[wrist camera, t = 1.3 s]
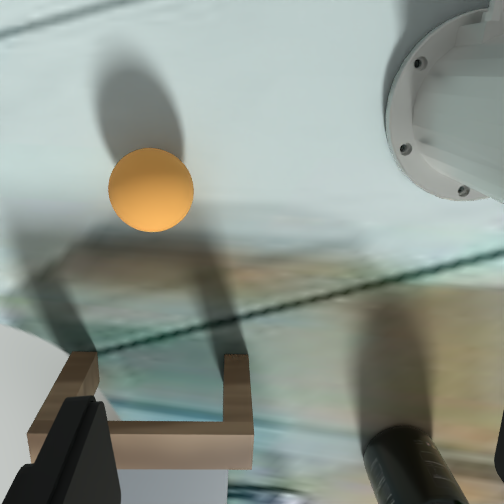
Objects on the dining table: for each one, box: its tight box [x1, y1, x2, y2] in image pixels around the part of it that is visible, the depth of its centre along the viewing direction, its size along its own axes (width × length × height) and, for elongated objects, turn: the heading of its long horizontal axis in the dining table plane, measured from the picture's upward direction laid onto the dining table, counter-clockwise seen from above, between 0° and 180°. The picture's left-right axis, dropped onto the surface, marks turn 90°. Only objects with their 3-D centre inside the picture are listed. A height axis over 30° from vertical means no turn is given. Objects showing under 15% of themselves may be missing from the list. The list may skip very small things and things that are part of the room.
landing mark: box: [117, 469, 228, 504], centre depth 44 cm, size 12×12×1 cm
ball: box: [108, 148, 194, 232], centre depth 30 cm, size 6×6×6 cm
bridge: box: [27, 351, 254, 470], centre depth 34 cm, size 3×14×9 cm, turn 86°
